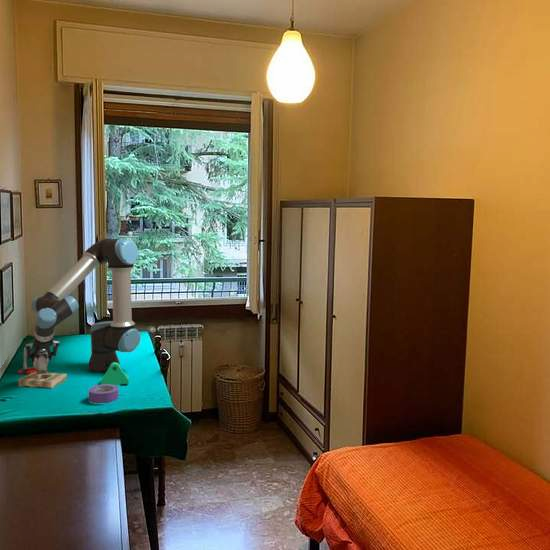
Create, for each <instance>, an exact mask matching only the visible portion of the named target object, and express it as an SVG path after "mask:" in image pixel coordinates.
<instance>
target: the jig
mask: <svg viewBox="0 0 550 550" xmlns="http://www.w3.org/2000/svg"><path fill="white" fill-rule="evenodd" d="M67 378H68V375H67V373H58V372H47V373H45V374H37V373H36V372H34V373H31V374H26V375H25V376H23V377H21V378H19V379H18V387H24V386H29V387H28V388H37V387H45V388H44V389H49V388H52V389H54V388H55V386H56V387H57V386H59V385H61V384H63V383H65V382H67V381H66V380H67ZM64 381H65V382H64ZM62 382H63V383H62ZM53 387H54V388H53Z"/></svg>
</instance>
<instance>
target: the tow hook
mask: <svg viewBox="0 0 550 550" xmlns="http://www.w3.org/2000/svg"><path fill="white" fill-rule="evenodd" d="M22 367H23V368H22V369H20V370H18V371H17V372H18V373H17V374H19V375H20V374H22V375H29V374H31V373H34V372H36V367H34V366H33V367H28V363H27V348H26V347H25V346H24V347H23V365H22Z"/></svg>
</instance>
